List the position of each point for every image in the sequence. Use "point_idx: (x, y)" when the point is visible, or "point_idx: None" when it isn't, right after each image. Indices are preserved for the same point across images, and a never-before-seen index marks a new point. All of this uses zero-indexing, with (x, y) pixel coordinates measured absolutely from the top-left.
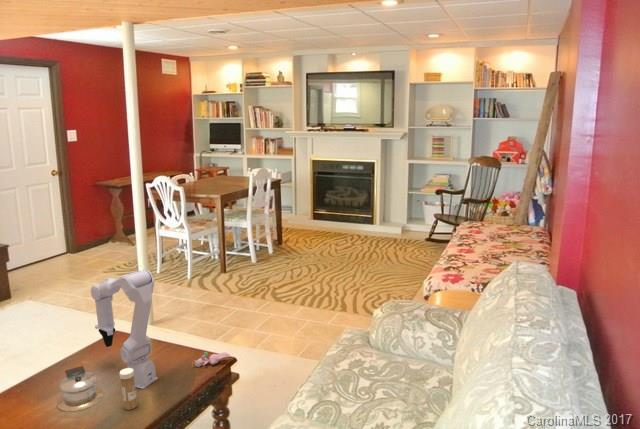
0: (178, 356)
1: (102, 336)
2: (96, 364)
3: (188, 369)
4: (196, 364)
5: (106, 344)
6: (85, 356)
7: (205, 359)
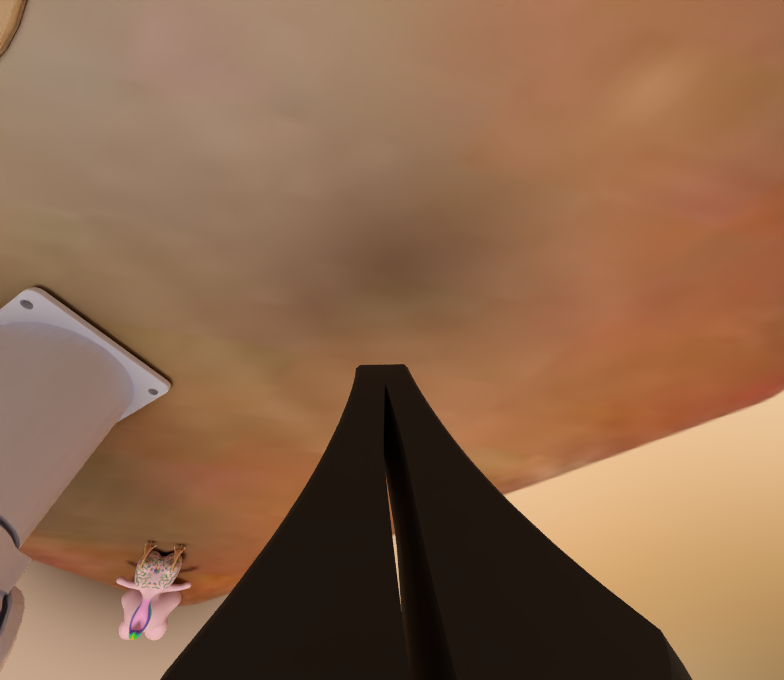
0: None
1: (248, 576)
2: (512, 176)
3: (141, 531)
4: (138, 566)
5: (350, 398)
6: (742, 124)
7: (172, 586)
